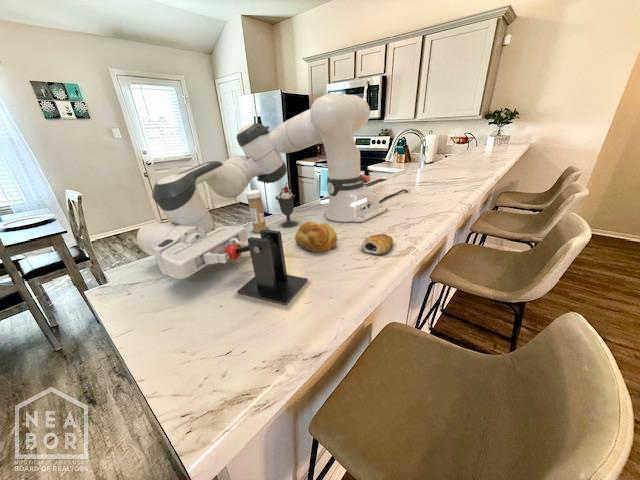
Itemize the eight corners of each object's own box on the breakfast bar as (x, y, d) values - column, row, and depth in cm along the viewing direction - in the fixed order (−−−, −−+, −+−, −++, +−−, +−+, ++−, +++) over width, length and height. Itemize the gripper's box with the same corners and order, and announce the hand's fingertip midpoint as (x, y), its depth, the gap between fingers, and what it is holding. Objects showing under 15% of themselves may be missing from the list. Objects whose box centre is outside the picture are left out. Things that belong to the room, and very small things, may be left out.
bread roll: (288, 246, 76) (284, 220, 72) (313, 235, 82) (310, 210, 78) (319, 260, 67) (316, 231, 64) (344, 246, 73) (343, 219, 70)
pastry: (377, 238, 76) (377, 226, 74) (399, 244, 72) (399, 231, 70) (359, 251, 70) (358, 238, 68) (381, 258, 66) (382, 244, 64)
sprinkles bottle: (269, 230, 88) (262, 191, 82) (256, 234, 86) (248, 193, 80) (263, 226, 91) (257, 188, 86) (251, 230, 89) (243, 191, 84)
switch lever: (225, 264, 57) (217, 250, 56) (236, 257, 60) (229, 243, 59) (269, 254, 50) (261, 237, 49) (279, 246, 53) (272, 230, 52)
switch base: (238, 295, 55) (224, 240, 50) (263, 274, 63) (253, 224, 57) (286, 308, 50) (277, 248, 45) (308, 283, 58) (302, 229, 52)
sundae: (293, 228, 88) (288, 184, 82) (276, 227, 90) (269, 183, 84) (301, 221, 93) (297, 179, 87) (285, 220, 96) (279, 179, 89)
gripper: (224, 239, 72) (266, 245, 67) (156, 278, 56) (203, 290, 50) (219, 217, 70) (262, 222, 64) (145, 251, 53) (194, 261, 47)
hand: (235, 252), depth 57 cm, fingers open, 4 cm apart
